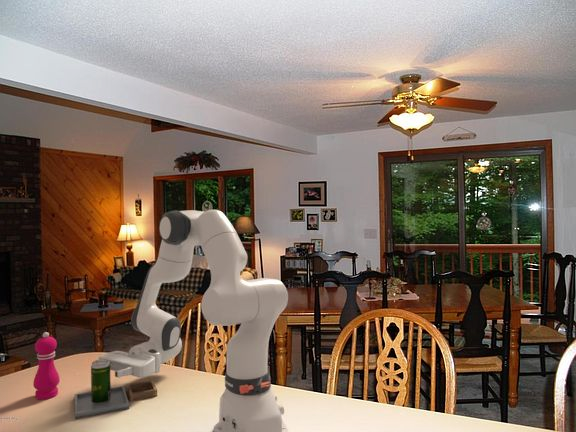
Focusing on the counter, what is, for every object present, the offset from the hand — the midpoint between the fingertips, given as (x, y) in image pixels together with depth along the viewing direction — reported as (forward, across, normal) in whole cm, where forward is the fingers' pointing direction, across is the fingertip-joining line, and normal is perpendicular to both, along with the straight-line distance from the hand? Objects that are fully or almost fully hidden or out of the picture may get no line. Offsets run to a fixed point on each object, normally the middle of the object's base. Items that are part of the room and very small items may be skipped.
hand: (105, 371), depth 134 cm
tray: (+2, 0, +9) cm, 9 cm away
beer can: (+2, 0, +9) cm, 9 cm away
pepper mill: (+6, -20, +9) cm, 23 cm away
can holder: (-9, +5, +9) cm, 14 cm away
